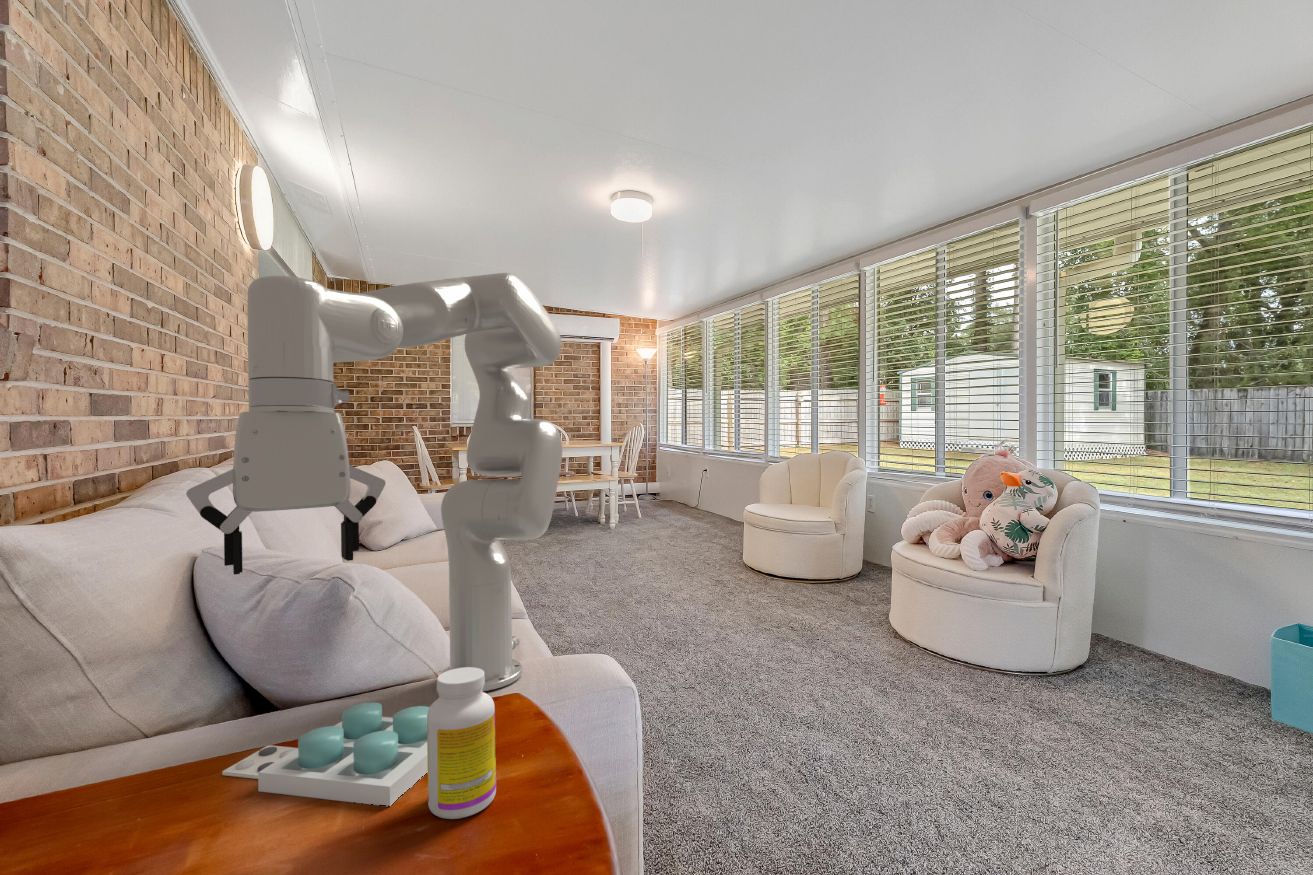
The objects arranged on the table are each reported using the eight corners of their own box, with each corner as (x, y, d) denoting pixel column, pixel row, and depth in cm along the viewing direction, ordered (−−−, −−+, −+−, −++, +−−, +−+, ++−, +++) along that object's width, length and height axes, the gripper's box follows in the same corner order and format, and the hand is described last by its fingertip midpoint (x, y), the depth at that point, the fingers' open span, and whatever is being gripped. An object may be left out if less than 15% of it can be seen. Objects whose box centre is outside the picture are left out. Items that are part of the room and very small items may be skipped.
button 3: (372, 751, 66) (372, 729, 66) (406, 754, 65) (406, 732, 65) (344, 772, 62) (343, 748, 62) (380, 776, 61) (380, 751, 61)
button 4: (408, 725, 72) (408, 704, 73) (440, 727, 72) (439, 707, 72) (384, 742, 68) (384, 720, 68) (418, 745, 67) (417, 723, 67)
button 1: (319, 746, 68) (319, 724, 68) (352, 749, 67) (352, 727, 67) (288, 766, 63) (288, 743, 63) (323, 769, 62) (322, 746, 62)
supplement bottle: (509, 799, 60) (507, 673, 60) (448, 831, 55) (446, 693, 55) (475, 776, 64) (473, 658, 64) (416, 803, 59) (414, 676, 60)
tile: (268, 748, 71) (268, 743, 71) (309, 752, 70) (309, 747, 70) (222, 774, 66) (222, 769, 66) (266, 779, 64) (266, 774, 64)
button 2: (359, 720, 74) (359, 701, 74) (389, 723, 73) (389, 703, 73) (333, 737, 70) (333, 716, 70) (365, 740, 69) (365, 719, 69)
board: (352, 729, 76) (352, 714, 76) (463, 739, 72) (463, 723, 73) (258, 791, 62) (258, 772, 62) (390, 806, 59) (389, 786, 59)
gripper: (376, 404, 68) (378, 550, 68) (187, 400, 58) (189, 571, 58) (390, 399, 62) (393, 559, 62) (183, 393, 52) (185, 585, 52)
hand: (295, 565), depth 60 cm, fingers open, 9 cm apart
